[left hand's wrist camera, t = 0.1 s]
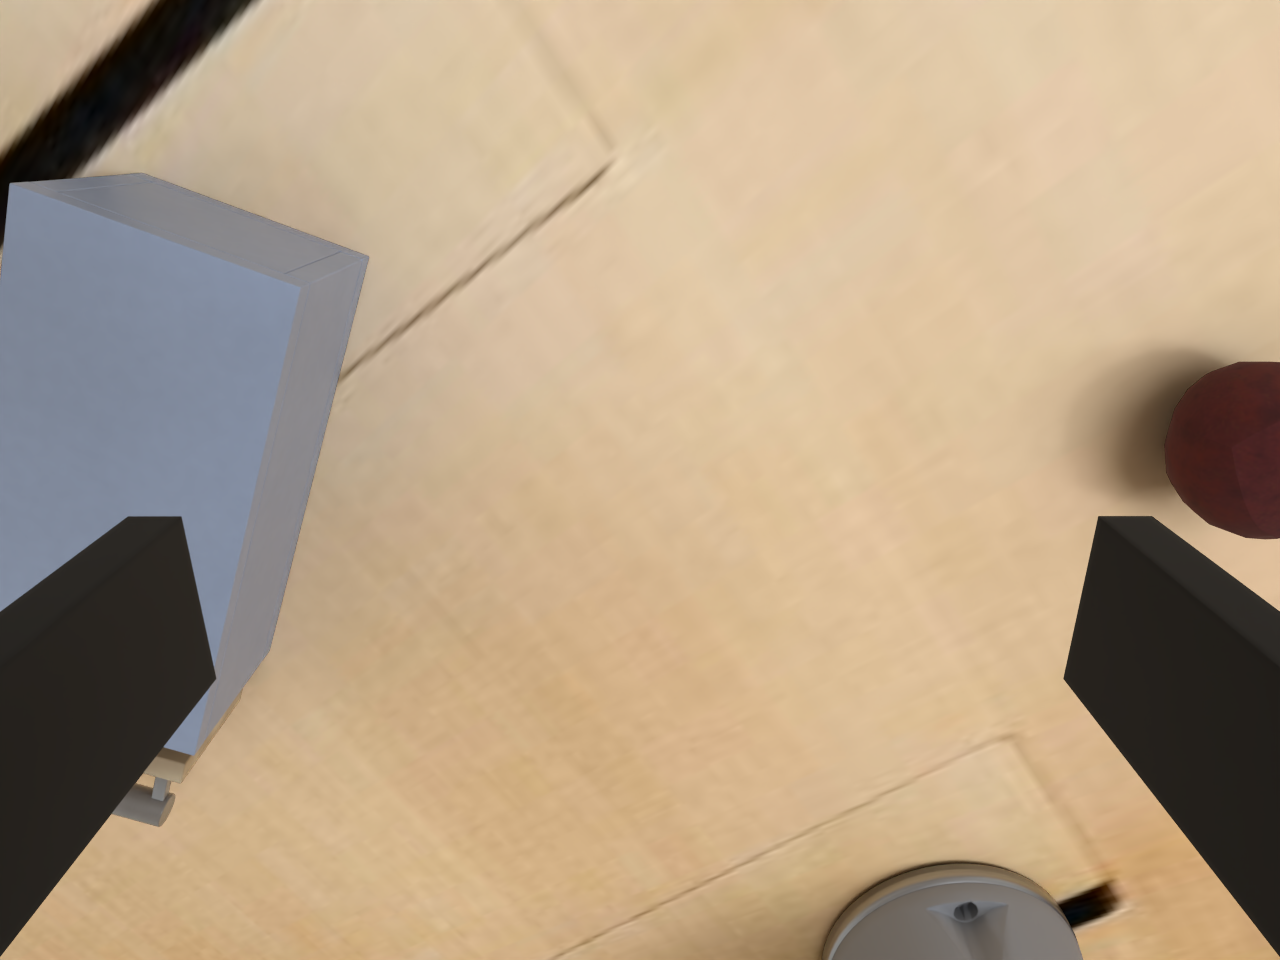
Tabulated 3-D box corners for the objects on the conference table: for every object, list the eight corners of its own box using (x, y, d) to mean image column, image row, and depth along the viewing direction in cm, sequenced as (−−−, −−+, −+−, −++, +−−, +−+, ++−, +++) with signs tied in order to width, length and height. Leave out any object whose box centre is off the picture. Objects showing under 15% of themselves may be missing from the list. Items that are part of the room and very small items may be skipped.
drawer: (220, 781, 48) (161, 872, 42) (58, 735, 47) (-27, 823, 41) (327, 342, 39) (271, 379, 33) (129, 271, 37) (33, 297, 32)
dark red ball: (1167, 524, 43) (1262, 594, 36) (1105, 398, 40) (1195, 449, 34) (1314, 446, 41) (1441, 505, 35) (1260, 310, 39) (1386, 346, 32)
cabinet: (269, 650, 46) (194, 756, 38) (77, 592, 44) (-42, 689, 37) (369, 256, 38) (300, 287, 30) (141, 172, 37) (8, 182, 29)
